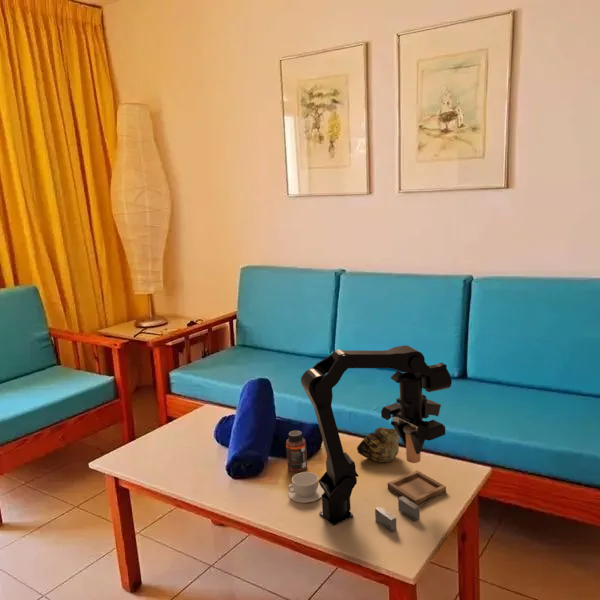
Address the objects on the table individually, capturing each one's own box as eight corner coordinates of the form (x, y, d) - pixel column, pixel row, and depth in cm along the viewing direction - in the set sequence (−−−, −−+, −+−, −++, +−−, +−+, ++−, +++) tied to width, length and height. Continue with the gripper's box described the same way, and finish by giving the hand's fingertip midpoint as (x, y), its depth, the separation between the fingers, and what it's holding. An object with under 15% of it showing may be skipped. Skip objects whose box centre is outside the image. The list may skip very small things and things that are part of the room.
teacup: (316, 481, 161) (315, 466, 160) (329, 498, 152) (328, 482, 151) (283, 489, 158) (282, 474, 157) (295, 507, 148) (294, 491, 147)
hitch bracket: (391, 533, 135) (391, 520, 134) (375, 521, 140) (375, 508, 139) (419, 519, 140) (419, 506, 139) (403, 508, 145) (402, 496, 144)
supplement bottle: (310, 469, 167) (308, 434, 165) (291, 474, 165) (289, 439, 162) (303, 461, 172) (300, 427, 170) (285, 465, 170) (282, 431, 168)
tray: (415, 507, 145) (415, 500, 144) (387, 488, 154) (387, 482, 154) (446, 492, 150) (445, 486, 150) (417, 476, 160) (417, 470, 159)
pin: (412, 465, 144) (411, 433, 142) (401, 458, 148) (399, 427, 146) (426, 460, 146) (425, 428, 144) (414, 453, 150) (413, 422, 148)
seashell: (370, 447, 178) (369, 418, 176) (404, 454, 172) (403, 424, 170) (355, 462, 170) (354, 431, 167) (391, 470, 164) (390, 438, 162)
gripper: (460, 397, 139) (462, 454, 143) (410, 377, 155) (412, 429, 159) (427, 409, 134) (429, 468, 137) (378, 387, 150) (381, 441, 153)
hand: (413, 450), depth 147 cm, fingers closed on pin, 4 cm apart
